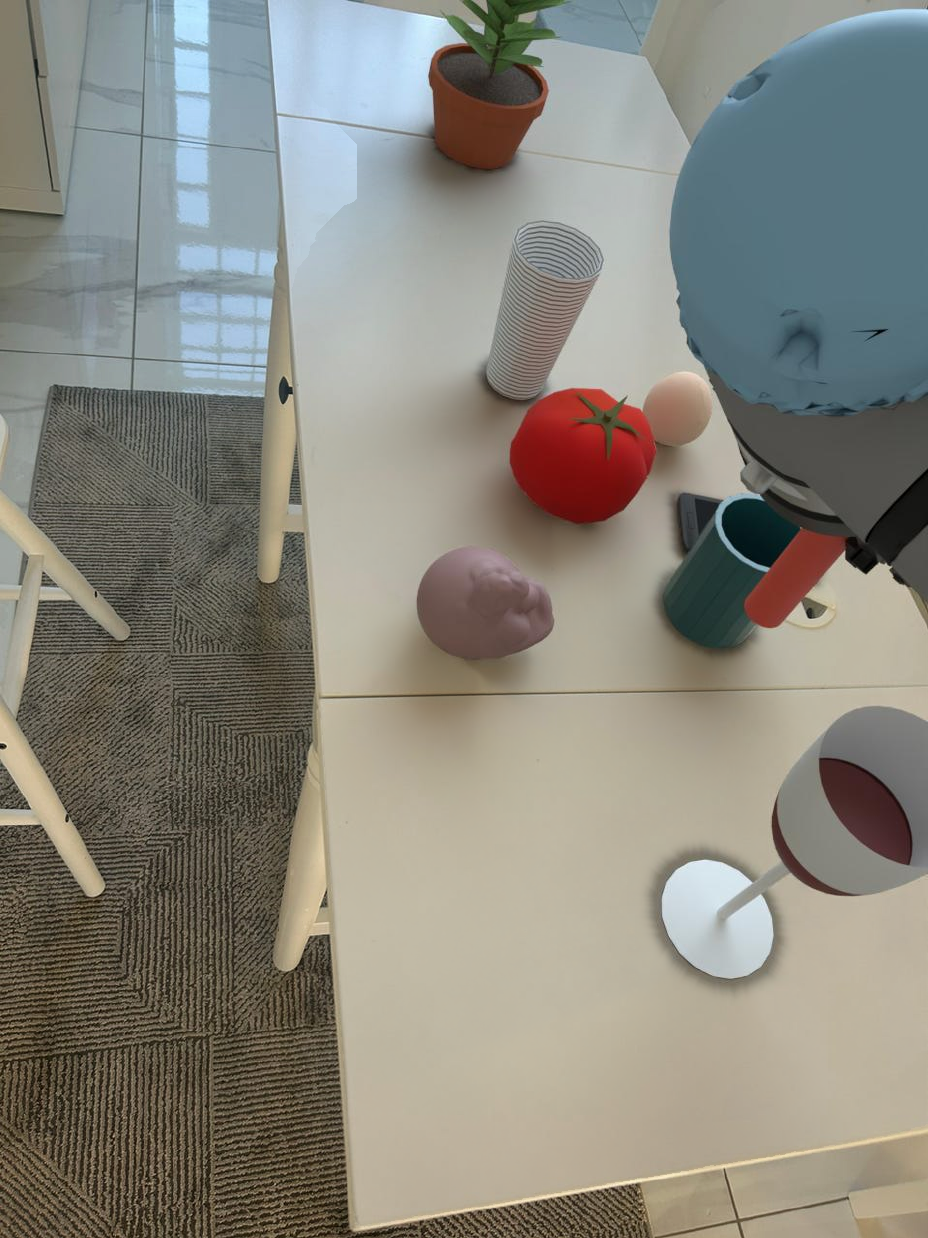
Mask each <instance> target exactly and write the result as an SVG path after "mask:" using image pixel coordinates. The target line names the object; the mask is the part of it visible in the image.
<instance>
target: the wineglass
mask: <svg viewBox="0 0 928 1238" xmlns="http://www.w3.org/2000/svg"><path fill="white" fill-rule="evenodd" d="M770 827H771V835H772V841H773V845H774V849H775V850H776V853H777V855H778V857H779V859H780V862H779V863H777V864H776V865H774V866H773V867H772V868H771V869H769V870H768V871H766V872H765V873H764V874H763V875H761V876H760V877H758V878H756V880H754V881H751V880H750V879H749V878H748V877H747V876H745V874H743V873H742V872H741V871H740V870H738V869H736V868H735V867H733V866H730V865H729V864H726V863H724V862H722V861H716V860H711V859H699V860H694V861H688V862H687V863H686V864H684V865H682V866H680V867H678V868H676V869H675V871H674V872H673V873H672V874H671V876H669V878H668V879H667V881H666V882H665V886H664V889H663V893H662V895H661V917H662V921H663V924H664V927H665V930H666V933H667V936H668V937H669V939H670V941H671V942H672V944H673V945H674V947H675V949H676V950H677V951H678V953H679V954H680V955H681V956H682V957H683V958H684V959H686V961H688V962H689V963H690V964H691V966H693V967H694V968H696V969H698V970H700V971H702V972H704V973H706V974H708V975H710V976H711V977H715V978H722V979H730V980H732V979H737V978H742V977H748V976H749V975H751V974H752V973H754V972H755V971H757V970H758V969H760V968H761V967H762V966H763V964H764V963H765V961H766V960H767V959H768V957H769V955H770V953H771V950H772V947H773V946H772V945H773V940H774V936H775V935H774V927H773V917H772V913H771V911H770V909H769V907H768V904H767V901H766V899H765V898H764V896H763V895H762V894H763V893H765V892H766V891H767V890H768V889H770V888H772V887H773V886H774V885H776V884H777V883H778V882H780V881H781V880H782V879H784V878H786V877H787V876H788V875H790V874H791V875H792V876H793V877H794V878H796V879H797V880H798V881H799V882H801V883H802V884H804V885H805V886H807V887H809V888H811V889H812V890H815V891H818V892H821V893H824V894H826V895H831V896H837V897H860V896H861V897H862V896H870V895H875V894H880V893H884V892H887V891H890V890H893V889H896V888H899V887H902V886H904V885H907V884H909V883H911V882H914V881H916V880H918V879H920V878H922V877H925V876H927V875H928V721H927V720H925V719H924V718H922V717H920V716H917V715H916V714H914V713H912V712H909V711H905V710H904V709H901V708H896V707H893V706H892V707H891V706H884V705H868V706H861V707H858V708H853V709H852V710H850V711H847V712H845V713H843V715H841V716H839V717H838V718H837V719H836V720H835V721H833V722H832V723H831V725H829V727H828V728H826V729H825V730H824V731H823V733H822V734H821V735H820V736H818V737H817V739H816V740H815V741H814V742H813V743H811V745H810V746H809V747H808V748H807V749H806V751H805V752H803V754H802V755H801V756H800V757H799V758H798V760H797V761H796V762H795V763H794V765H793V766H792V767H791V768H790V769H789V771H788V773H787V775H786V776H785V778H784V780H783V781H782V783H781V785H780V786H779V790H778V792H777V795H776V798H775V800H774V803H773V808H772V814H771V826H770Z"/></svg>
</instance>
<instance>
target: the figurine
mask: <svg viewBox="0 0 928 1238" xmlns="http://www.w3.org/2000/svg"><path fill="white" fill-rule="evenodd" d="M416 613H417V618H418V621H419V624H420V627H421V628H422V630H423V632H424V633H425V635H426V637H427V638H428V639H429V640H430V642H431V643H432V644H433V645H434V646H436V647H437V648H438V649H439V650H441V651H442V652H444V653H446V654H448V655H450V656H452V657H455V658H458V659H463V660H469V661H471V660H472V661H477V660H487V659H488V660H489V659H493V660H499V659H503V658H505V657H508V656H512V655H514V654H518V653H520V652H523V651H525V650H528V649H530V648H532V647H534V646H535V645H537V644H539V643H540V642H542V641H544V640H545V639H546V638H548V636H550V634H551V633H552V631H553V629H554V627H555V618H554V614H553V604H552V599H551V596H550V594H549V592H548V590H547V588H546V587H545V586H544V585H543V583H542V582H540V581H539V580H537V579H535V578H532V577H530V576H526V575H524V574H523V573H522V572H521V570H520V569H519V568H518V566H517V565H516V564H515V563H514V562H513V561H512V560H511V559H509V558H508V557H506V556H505V555H503V554H502V553H500V552H498V551H496V550H494V549H491V548H489V547H483V546H464V547H459V548H456V549H452V550H450V551H448V552H446V553H443V555H441V556H440V557H438V558H437V559H436V560H435V561H433V562H432V564H430V566H429V567H428V568H427V569H426V570H425V573H424V574H423V575H422V578H421V580H420V582H419V584H418V589H417V594H416Z"/></svg>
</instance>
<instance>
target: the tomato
mask: <svg viewBox="0 0 928 1238" xmlns="http://www.w3.org/2000/svg"><path fill="white" fill-rule="evenodd" d="M628 396H629V395H628V394H627V395H626V396H625V397H623V399H621V400H620V401H618V400H617V399H615V398H614V397H612V396H611V394H609V393H607V392H606V391H604V390H603V389H602V388H584V387H583V388H582V387H571V388H567V389H562V390H559V391H554V392H552V393H550V394H548V395H546V396H544V397H543V398H540V399H539V400H537V401H536V402H535V403H534V404H532V405H531V407H529V408H528V409H527V411H526V413H525V415H524V417H523V419H522V421H521V423H520V425H519V427H518V429H517V431H516V433H515V435H514V437H513V438H512V440H511V441H510V447H509V465H510V468H511V472H512V476H513V478H514V480H515V481H516V484H517V485H518V487H519V489H521V491H522V492H523V493H524V494H525V495H526V496H527V498H528V500H530V501H531V502H532V503H533V504H535V505H536V506H537V507H539V508H540V509H542V510H543V511H545V512H546V513H547V514H549V515H550V516H552V517H554V518H556V519H557V518H558V519H560V520H563V521H566V522H569V523H572V524H575V525H582V524H592V523H600V522H605V521H607V520H609V519H611V518H612V517H614V516H616V515H618V514H619V513H622V512H623V511H624V510H626V509H627V507H628V506H629V504H631V502H632V501H633V500H634V498H635V497H636V496H637V495H638V493H639V492H640V490H641V488H642V487H643V485H644V484H645V482H646V480H647V479H648V476H649V475H650V474H651V471H652V467H653V465H654V462H655V460H656V459H655V458H656V456H657V452H658V450H657V446H656V443H655V442H656V441H655V440H654V438H653V434H652V431H651V427H650V425H649V422H648V420H647V418H646V417H645V415H644V414H643V412H642V411H643V410H642V409H641V408H639V407H636V406H632V405H629V404H627V403H625V402H626V400H627V399H628Z"/></svg>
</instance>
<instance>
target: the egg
mask: <svg viewBox="0 0 928 1238" xmlns="http://www.w3.org/2000/svg"><path fill="white" fill-rule="evenodd" d="M641 411H642V412H643V414H644V415H645V417H646V418H647V420H648V422H649V425H650V427H651V431H652V434H653V438H654V442H657V443H659V444H661V445H664V446H668V447H682V446H684V445H687V444H690V443H692V442H693V441H695V440H697V439H698V438H699V437H700V436H701V435H702V434H703V433H704V432H705V430H706V428H707V426H708V425H709V422H710V421H711V417H712V413H713V396H712V391H711V389H710V387H709V384H708V382H706V381H705V380H704V379H703V377H702V376H700V375H698V374H696V373H695V372H690V371H677V372H674V373H671V374H669V375H666V376H665V377H663V378H661V379H660V380H658V381H657V383H655V384H654V385H653V387H652V388H650V390H649V391H648V393H647V395H646V397H645V399H644V401H643V406H642V410H641Z"/></svg>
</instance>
